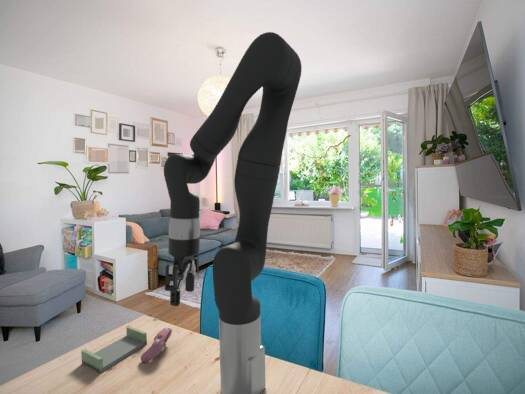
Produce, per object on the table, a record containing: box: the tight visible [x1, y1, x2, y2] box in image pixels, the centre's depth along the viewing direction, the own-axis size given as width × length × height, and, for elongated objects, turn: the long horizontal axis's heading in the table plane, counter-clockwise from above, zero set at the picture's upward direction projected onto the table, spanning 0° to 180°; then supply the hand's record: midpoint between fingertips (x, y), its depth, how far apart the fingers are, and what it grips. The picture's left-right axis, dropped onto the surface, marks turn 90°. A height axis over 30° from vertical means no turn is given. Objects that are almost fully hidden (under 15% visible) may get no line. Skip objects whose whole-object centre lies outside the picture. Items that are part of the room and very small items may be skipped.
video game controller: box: [140, 326, 173, 363], centre depth 75 cm, size 10×5×7 cm, turn 179°
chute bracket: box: [80, 325, 148, 374], centre depth 74 cm, size 8×14×4 cm, turn 151°
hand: (182, 297), depth 69 cm, fingers open, 8 cm apart
